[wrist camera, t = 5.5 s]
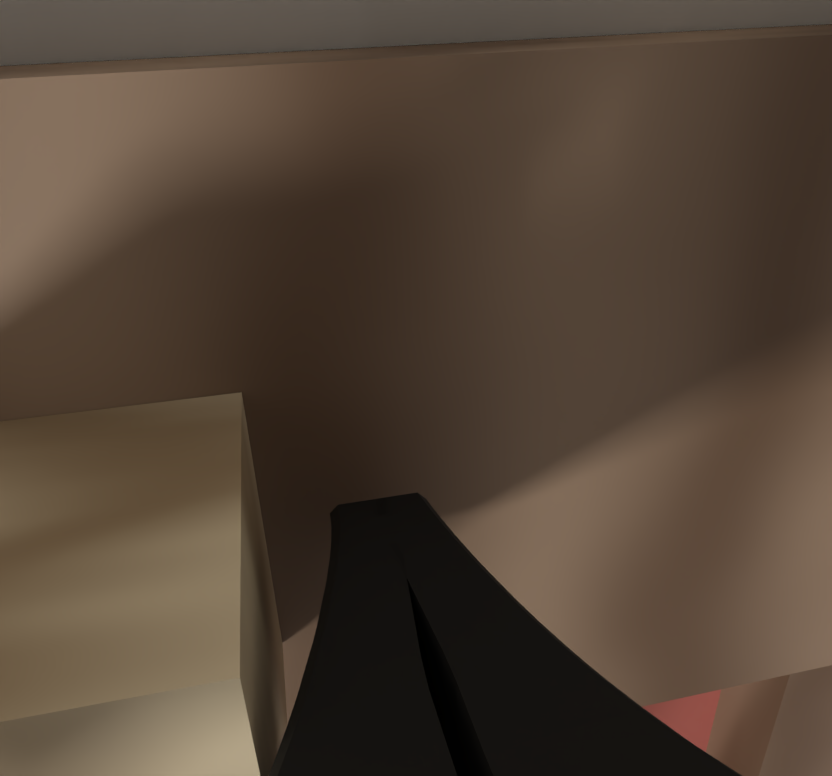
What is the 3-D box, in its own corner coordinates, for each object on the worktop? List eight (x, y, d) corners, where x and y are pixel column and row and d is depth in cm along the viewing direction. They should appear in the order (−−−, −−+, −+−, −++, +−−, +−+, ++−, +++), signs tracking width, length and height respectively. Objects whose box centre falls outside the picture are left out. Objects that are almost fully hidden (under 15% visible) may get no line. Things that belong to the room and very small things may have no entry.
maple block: (242, 391, 9) (239, 678, 5) (282, 644, 11) (303, 979, 7) (-152, 439, 8) (-490, 812, 5) (-29, 699, 11) (-186, 1105, 7)
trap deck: (997, 15, 11) (1278, 21, 8) (753, 801, 21) (840, 938, 18) (-683, 101, 8) (-1289, 166, 5) (-44, 1000, 17) (-104, 1214, 14)
